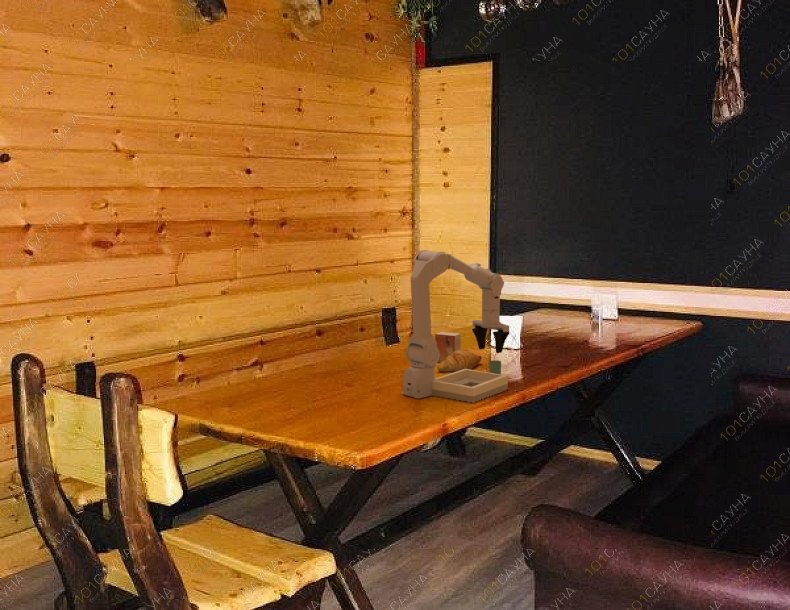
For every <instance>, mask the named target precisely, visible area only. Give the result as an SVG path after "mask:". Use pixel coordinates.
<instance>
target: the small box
mask: <svg viewBox="0 0 790 610" xmlns="http://www.w3.org/2000/svg"><path fill="white" fill-rule="evenodd" d="M434 337H435V338H434V339H435V340H436V342H437V348H438V350H439V354H440V357H439V360H438V362H437V363H441V362H442V361H444V360H445V359H446V357H448V356H449V355H450V354H451V353H452V352H454V351H457V350H462V348H461V347H462V345H461V343H462V333H459V332H446V331H440V332H437V333H435V336H434Z"/></svg>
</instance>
